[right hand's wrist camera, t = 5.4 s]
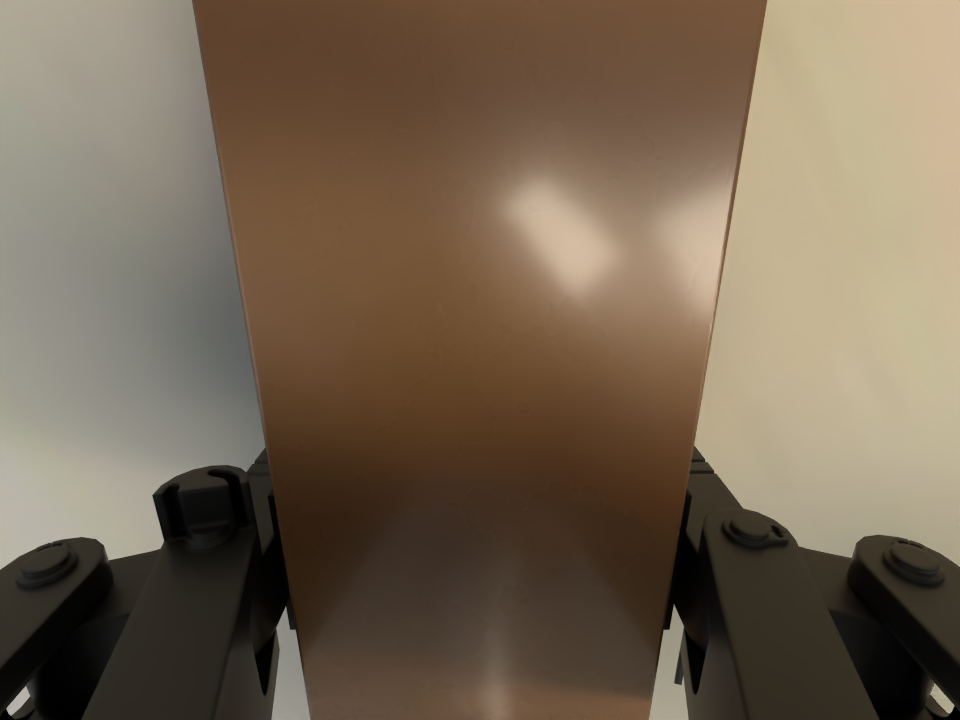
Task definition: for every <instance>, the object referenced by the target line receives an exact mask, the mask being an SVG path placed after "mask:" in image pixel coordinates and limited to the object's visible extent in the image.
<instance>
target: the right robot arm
mask: <svg viewBox="0 0 960 720" xmlns="http://www.w3.org/2000/svg"><path fill="white" fill-rule="evenodd" d="M152 496H153V500H154V503H155V507H156V511H157V515H158V519H159V522H160V526H161V530H162V534H163V538H164V543H163V545H162V547H161V549H159V550H155V551H151V552H147V553H142V554H138V555H133V556H128V557H123V558H118V559H114V560H109V561H108V558H107V554H106V551H105V548H104V545H102V544H101V543H100V542H99V541H97V540H96V539H91V538H84V537H79V538H71V539H64V540H59V541H55V542H53V543H48V544H45V545H42V546H40V547H38V548H36V549H34V550H32V551H30V552H28V553H26V554H24V555H22V556H20V557H18V558H17V559H15V560H14V561H12V562H11V563H9V564H8V565H7V566H5V567H4V568H2V569H1V570H0V720H271V718H272V709H273V701H274V693H275V684H276V676H277V668H278V659H279V651H280V649H279V642H278V636H277V630H276V627H277V625H278V622H279V620H280V618H281V616H282V613H283V611H284V609H285V607H286V608H287V614H288V619H289V625H290V630H296V627H295V621H294V615H293V609H292V603H291V597H290V591H289V585H288V578H287V572H286V566H285V560H284V554H283V548H282V542H281V536H280V530H279V524H278V518H277V512H276V506H275V500H274V494H273V488H272V482H271V475H270V469H269V463H268V457H267V451H266V448H265V449H264V450H263V451H262V453H261V454H260V455H259V457H258V458H257V459H256V460H255V464H252V466H251V467H250V468H249V470H248V471H247V472H245V471H244V470H242V469H241V468H238V467H233V466H229V465H220V466H208V467H203V468H198V469H194V470H191V471H188V472H186V473H183V474H181V475H178V476H176V477H174V478H173V479H171V480H169V481H168V482H166V483H164V484H163V485H161V486H160V488H159V489H158V490H157V491H156V492H155V493H154V494H153V495H152ZM674 605H675V607H676V609H677V612H678V614H679V616H680V618H681V620H682V623H683V625H684V630H683V636H682V641H681V647H680V652H679V658H678V663H677V669H676V675H675V682H674V683H675V684H680V685H681V684H682V679H683V675H684V683H685V691H686V700H687V708H688V716H689V720H960V567H959V566H958V565H956V564H955V563H953V562H952V561H950V560H949V559H947V558H946V557H944V556H943V555H942V554H940V553H938V552H936V551H934V550H931V549H929V548H927V547H925V546H924V545H922V544H920V543H917V542H914V541H911V540H910V541H909V540H907V539H903V538H899V537H892V536H884V535H874V536H867V537H864V538H862V539H861V540H860V541H859V542H857V543H856V546H855V550H854V553H853V556H852V558H848V557H843V556H838V555H833V554H829V553H824V552H819V551H814V550H810V549H806V548H802V547H799V546H798V544H797V542H796V540H795V539H794V538H793V536H792V535H791V534H790V532H789V531H788V530H787V529H786V528H785V527H783V526H782V525H780V524H779V523H778V522H776V521H775V520H773V519H771V518H769V517H767V516H765V515H762V514H760V513H758V512H754V511H750V510H746V509H743V508H742V506H741V505H740V504H739V502H738V501H737V500H736V499H735V497H734V496H733V495H732V493H731V492H730V491H729V490H728V488H727V487H726V486H725V484H724V483H723V482H722V481H721V479H720V478H719V477H718V475H717V474H714V470H713V469H712V468H711V466H710V465H709V464H708V463H707V462H705V459H704V457H703V456H702V455H701V454H700V452H699V451H698V450H697V448H696V447H695V446H694V448H693V454H692V460H691V466H690V472H689V478H688V484H687V490H686V496H685V502H684V508H683V514H682V520H681V527H680V533H679V539H678V545H677V551H676V557H675V563H674V569H673V575H672V581H671V587H670V593H669V599H668V606H667V612H666V618H665V624H664V630H669V629H670V623H671V617H672V612H673V606H674ZM934 684H936V685H937V686H938V687H939V688H940V689H941V690H942V692H943V693H944V694H945V695H946V696H947V697H948V698H949V700H950V701H951V702H952V703H953V704H954V705H955V706H954V708H953V711H952V712H951V713H950V714H949V713H947V712H946V711H945V710H944V709H943V708H942V707H941V706H940V705H939V704H938V703H937V702H936V701H935V699H934V698H933V697H932V696H931V695H930V693H931V691H932V688H933V686H934ZM25 686H26V687H27V689H28V692H29V694H30V697H29V699H28V700H27V701H26V702H25V703H24V705H23V706H22V707H21V708H20V709H19V710H18V711H16V712H15V713H14V714H13V715H12V716H10V715H9V714H8V712H7V710H6V708H7V707H8V706H9V704H10V703H11V702H12V701H13V700H14V699H15V697H16V696H17V695H18V694H19V693H20V692H21V691H22V689H23V688H24V687H25Z"/></svg>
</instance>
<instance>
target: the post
mask: <svg viewBox="0 0 960 720" xmlns="http://www.w3.org/2000/svg"><path fill="white" fill-rule="evenodd" d="M192 3H193V9H194V15H195V21H196V27H197V33H198V39H199V45H200V51H201V57H202V63H203V69H204V75H205V81H206V88H207V94H208V100H209V106H210V112H211V118H212V124H213V130H214V136H215V142H216V148H217V154H218V160H219V166H220V172H221V178H222V185H223V191H224V197H225V203H226V209H227V215H228V221H229V227H230V233H231V239H232V245H233V251H234V257H235V263H236V269H237V275H238V281H239V288H240V294H241V300H242V306H243V312H244V318H245V324H246V330H247V336H248V342H249V348H250V354H251V360H252V366H253V372H254V378H255V385H256V391H257V397H258V403H259V409H260V415H261V421H262V427H263V433H264V439H265V445H266V451H267V457H268V463H269V469H270V475H271V482H272V488H273V494H274V500H275V506H276V512H277V518H278V524H279V530H280V536H281V542H282V548H283V554H284V560H285V566H286V572H287V578H288V585H289V591H290V597H291V603H292V609H293V615H294V621H295V627H296V633H297V639H298V645H299V651H300V657H301V663H302V669H303V675H304V682H305V688H306V694H307V700H308V706H309V712H310V718H311V720H649V715H650V709H651V703H652V697H653V691H654V684H655V678H656V672H657V666H658V660H659V654H660V648H661V642H662V636H663V630H664V624H665V618H666V612H667V606H668V599H669V593H670V587H671V581H672V575H673V569H674V563H675V557H676V551H677V545H678V539H679V533H680V527H681V520H682V514H683V508H684V502H685V496H686V490H687V484H688V478H689V472H690V466H691V460H692V454H693V448H694V442H695V435H696V429H697V423H698V417H699V411H700V405H701V399H702V393H703V387H704V381H705V375H706V369H707V363H708V356H709V350H710V344H711V338H712V332H713V326H714V320H715V314H716V308H717V302H718V296H719V290H720V284H721V278H722V271H723V265H724V259H725V253H726V247H727V241H728V235H729V229H730V223H731V217H732V211H733V205H734V199H735V192H736V186H737V180H738V174H739V168H740V162H741V156H742V150H743V144H744V138H745V132H746V126H747V120H748V114H749V107H750V101H751V95H752V89H753V83H754V77H755V71H756V65H757V59H758V53H759V47H760V41H761V35H762V28H763V22H764V16H765V10H766V4H767V0H192Z"/></svg>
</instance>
